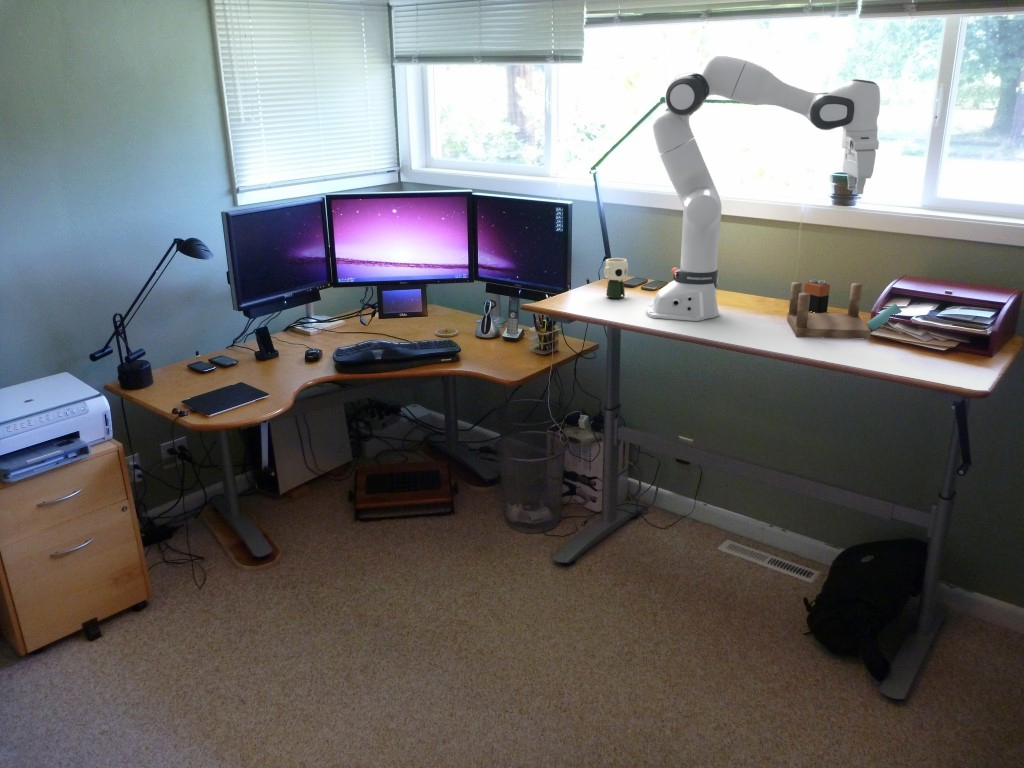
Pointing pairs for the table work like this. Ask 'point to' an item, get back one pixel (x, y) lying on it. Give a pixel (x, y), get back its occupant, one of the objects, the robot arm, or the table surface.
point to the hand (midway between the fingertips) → (855, 192)
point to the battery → (817, 295)
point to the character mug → (616, 276)
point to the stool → (826, 317)
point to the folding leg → (883, 317)
